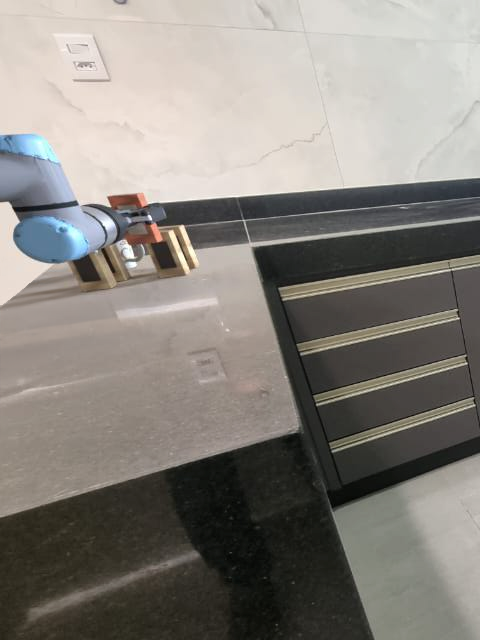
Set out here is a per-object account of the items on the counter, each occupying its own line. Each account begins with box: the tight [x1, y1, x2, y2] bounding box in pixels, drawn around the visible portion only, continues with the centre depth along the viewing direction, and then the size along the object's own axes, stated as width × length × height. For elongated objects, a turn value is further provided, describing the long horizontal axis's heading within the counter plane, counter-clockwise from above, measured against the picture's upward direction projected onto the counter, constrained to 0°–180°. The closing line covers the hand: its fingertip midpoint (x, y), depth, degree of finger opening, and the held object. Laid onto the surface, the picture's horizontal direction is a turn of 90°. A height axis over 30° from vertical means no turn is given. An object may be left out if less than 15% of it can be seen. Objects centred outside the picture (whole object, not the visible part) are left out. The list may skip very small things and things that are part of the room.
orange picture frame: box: [106, 192, 163, 246], centre depth 111 cm, size 5×3×10 cm, turn 113°
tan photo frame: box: [66, 243, 132, 293], centre depth 116 cm, size 5×10×10 cm, turn 23°
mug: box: [116, 236, 146, 270], centre depth 130 cm, size 8×13×10 cm, turn 88°
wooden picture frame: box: [144, 224, 200, 279], centre depth 124 cm, size 5×10×10 cm, turn 23°
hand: (143, 210), depth 115 cm, fingers closed on orange picture frame, 5 cm apart
